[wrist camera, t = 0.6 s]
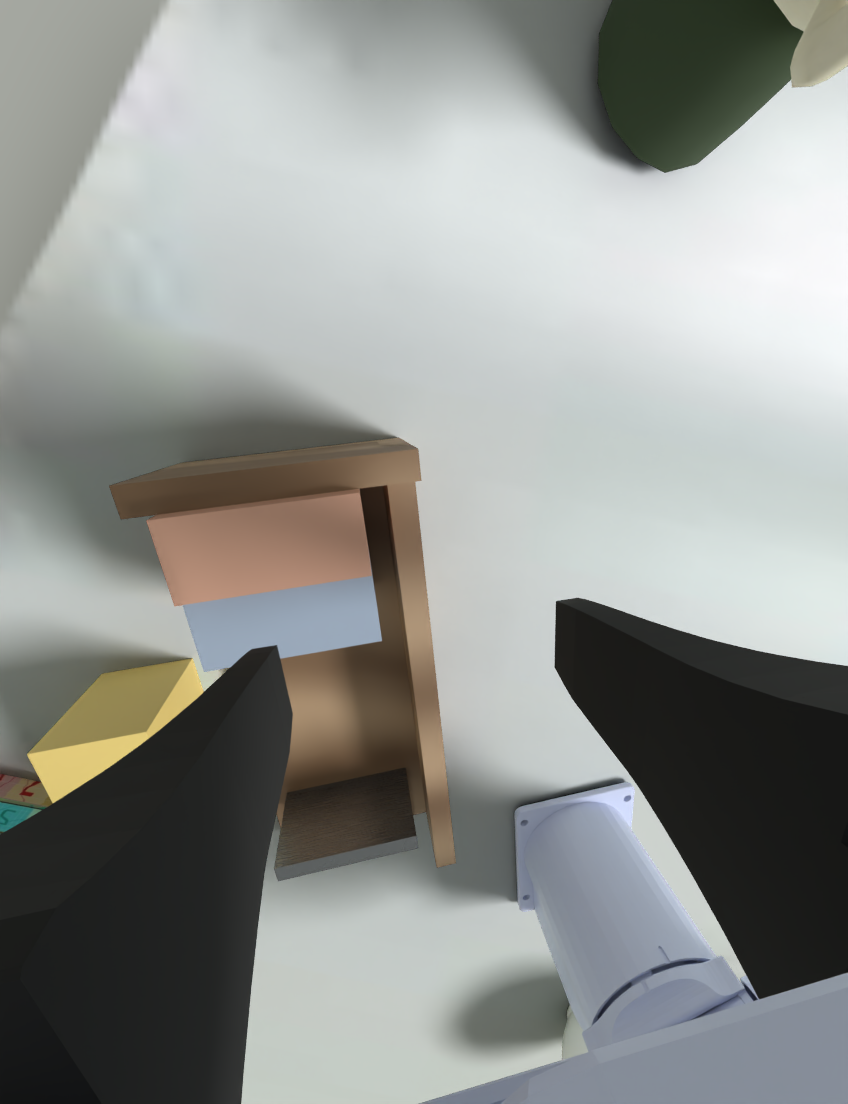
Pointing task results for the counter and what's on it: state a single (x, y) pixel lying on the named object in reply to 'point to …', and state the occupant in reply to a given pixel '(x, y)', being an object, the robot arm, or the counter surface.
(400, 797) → the bookend
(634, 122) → the character mug
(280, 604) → the row books
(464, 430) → the counter surface
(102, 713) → the pale yellow upright block
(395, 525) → the shelf tray
